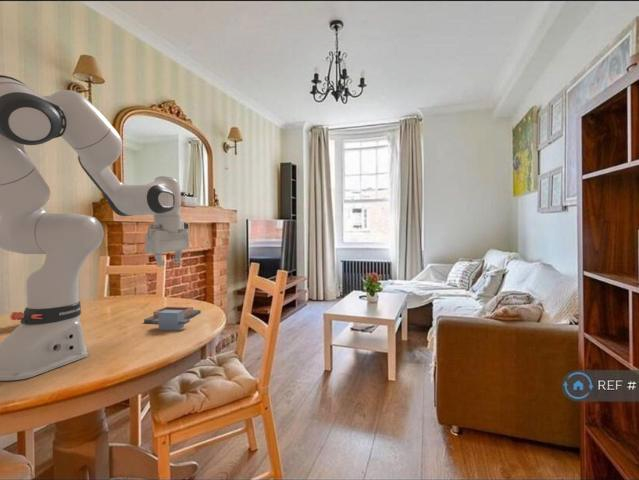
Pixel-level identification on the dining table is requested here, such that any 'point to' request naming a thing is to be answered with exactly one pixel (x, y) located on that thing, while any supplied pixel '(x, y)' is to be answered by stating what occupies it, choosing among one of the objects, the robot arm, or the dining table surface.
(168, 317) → the block
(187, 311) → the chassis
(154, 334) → the dining table surface
